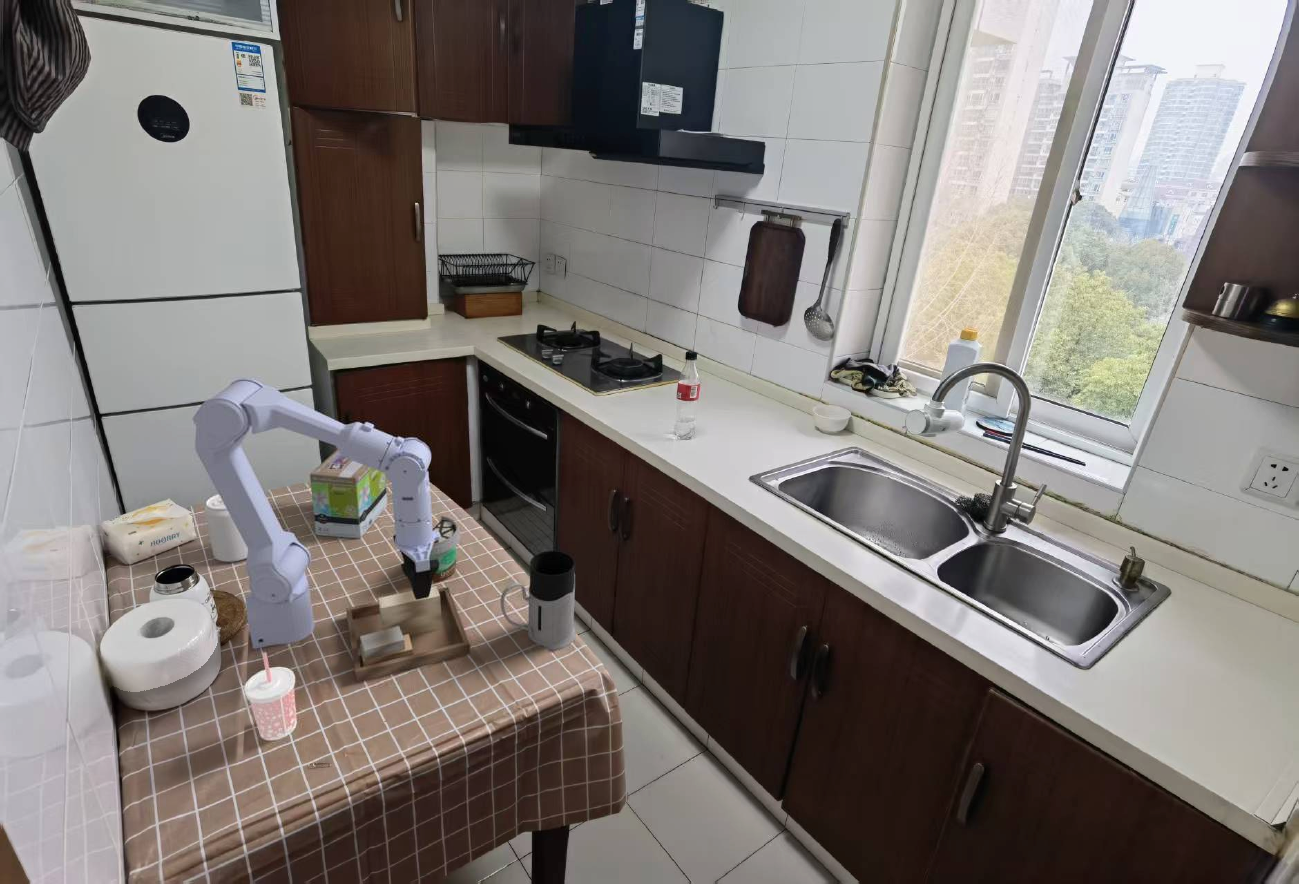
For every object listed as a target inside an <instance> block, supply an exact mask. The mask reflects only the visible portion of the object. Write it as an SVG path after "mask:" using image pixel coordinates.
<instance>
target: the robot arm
mask: <svg viewBox="0 0 1299 884" xmlns="http://www.w3.org/2000/svg"><path fill="white" fill-rule="evenodd" d="M192 421H193V423H194V425H195V429H196V430H195V439H194V441H195V442H194V450H195V452H196V454H197V457H198V458H199V460H200V462H201V463H202V465H203V467H204V469H205V471H206V473H207V474H208V477H209V479H210V481H211V482H212V484H213V486H214V488H215V490H216V492H217V493H218V494H219V495H220V497H221V499H222V501H223V503H224V505H225V507H226V508H227V510H228V512H229V514H230V516H231V518H232V520H233V521H234V523H235V525H236V527H237V529H238V531H239V533H240V535H241V536H242V538H243V540H244V542H245V544H246V546H247V548H248V554H247V558H246V561H245V571H246V573H247V575H248V577H249V583H248V587H249V590H250V591H249V592H251V593H248V594H246V596H245V606H246V607H245V609H246V610H245V611H246V617H247V624H248V632H249V636H250V638H251V645H252V649H255V650H256V649H261V648H265V647H269V646H270V647H271V646H275V645H286V644H294V643H297V642H299V641H301V640H303V639H305V638H307V637H308V636H309V635H310V634H312V632H313V631H314V629H315V620H314V612H313V607H312V601H311V600H312V599H311V592H310V585H309V580H308V578H307V574H306V570H307V569H308V568H309V566H310V565H311V562H312V556H311V555H312V554H311V552H310V551H309V549H308V548H306V546H305V545H303V543H300V541H299V540H298V539H297V537H296V536H295V534H294V533H293V532H290V531H285V530H283V528H282V525H281V524H280V521H279V519H278V518H277V515H276V514H275V512H274V510H273V508H272V506H271V504H270V502H269V500H268V498H267V496H266V494H265V492H264V491H263V488H262V486H261V483H260V482H259V480H258V478H257V476H256V474H255V472H254V470H253V468H252V466H251V464H250V463H249V460H248V458H247V456H246V454H245V452H244V450H243V448H242V444H243V442H244V440H245V439H246V436H247V435H248V433H249V432H250V431H251V434H252V435H256V434H259V433H263V432H266V431H270V430H271V431H272V430H274V429H277V428H280V429H281V428H282V429H285V430H287V431H291V432H294V433H297V434H300V435H303V436H305V437H309V438H311V439H315V440H318V441H320V442H324V443H327V444H330V445H333V446H335V447H336V450H338V451H339V453H340V455H341V456H342V457H345V458H347V459H350V460H352V461H355V462H357V463H360V464H363V465H365V466H368V467H370V468H373V469H375V470H379V471H380V472H383V473H385V478H387V480H388V481H389V482H390V483H391V488H392V490H391V494H392V495H391V496H392V505H393V517H394V530H395V531H394V532H395V534H394V535H393V536H392V539H393V543H394V545H395V547H396V548H397V549H399V551H400V553H401V555H402V558H403V563H401V564H400V566H401V567H400V568H401V569H402V572H403V574H404V576H406V578H407V579H408V581H409V583H410V585H411V591H413V593H414V596H415V598H416V600H418V599H423V598H427V597H429V594H430V590H431V587H432V584H433V583H432V581H433V578H434V575H435V573H436V572H437V570H438V569H439V561H438V559H435V560H430V561H429V556H430V553H431V549H432V546H433V543H434V541H436V540H440V539H441V536H440V533H439V531H433V529H432V528H433V515H432V514H433V513H432V497H431V487H430V486H431V485H430V477H429V471H428V469H429V466H430V464H431V461H432V452H431V450H430V447H429V446H428V445H427V444H426V443H425V442H423V441H422V440H420V439H418V437H405V438H404V437H401V436H397V437H396V436H393V435H391V434H388V433H386V432H384V431H382V430H379V429H376V428H375V425H374V424H373V423H370V422H368V421H366V422H364V423H361V422H360V421H355V422H352V423H349V424H344V423H342V422H340V421H338V420H336V419H334V418H331V417H330V416H327V415H325V414H323V413H321V412H318V411H317V410H314V409H313V408H310V407H308V406H306V405H304V404H302V403H300V402H298V401H296V400H293V399H291V398H289V397H287V396H286V395H284V394H283V393H282V392H280V391H279V390H278V389H277V388H275V386H272V385H267V384H263V383H261V382H260V381H258V380H256V379H253V378H239V379H236V380H234V381H233V382H231V383H230V384H229V385H228V386H227V387H226V388H225V389H223V390H221V391H220V392H218V393H217V394H215V396H213V397H211V398H209V399H207V400H205V401H204V402H203V403H202V404H201V405H200V407H199V408H198V409H197V411H196V412H195V414H194V416H193V417H192Z"/></svg>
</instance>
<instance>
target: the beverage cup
mask: <svg viewBox="0 0 1299 884" xmlns="http://www.w3.org/2000/svg"><path fill="white" fill-rule="evenodd" d="M262 658H263V664H264V670H260V671H258V672H256V673H255V674H254V675H252V676H251V677H250V678H249V679H248V680H247V681H246V682H245V684H244V688H243V691H244V693H245V696H246V699H247V700H248V701H249V702H250V707H251V709H252V713H253V716H254V719H255V722H256V726H257V730H258V732H259V735H260V737H261V738H262V739H263V740H266V741H276V740H281V739H284V738H286V737H288V735H290V734H291V733H292V732H293V731H294V730H295V729H296V727H297V723H298V722H297V721H298V720H297V708H296V695H295V684H296V676H295V675H296V674H295V673H294V671H293V670H292V669H290V668H288V667H283V666H276V667H275V666H274V667H270V665H269V660H268V655H267V652H265V651H264V652H262Z"/></svg>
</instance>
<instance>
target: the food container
mask: <svg viewBox="0 0 1299 884" xmlns="http://www.w3.org/2000/svg"><path fill="white" fill-rule="evenodd" d="M432 529H433V531H439V533H440V536H441V539H440V540H436V541H434V543H433V546H432V549H431V553H430V556H429V561H430V560H435V559H438V561H439V569H438V570H437V572H436V573H435V575H434V578H433V581H432V584H437V583H441V582H443V581H446V580H448V579H450V578H451V577H452V576H453V575H454V574H455V573H456V569H457V566H456V565H457V551H458V550H457V549H458V543H459V542H460V540H461V531H460V529H459V526H458V525H457V523H456V522H455V521H454V520H453V519H452V518H450V517H448V516H445V515H444V516H443V515H440V521H438V523H437V524H436V525H435V526H433V527H432Z"/></svg>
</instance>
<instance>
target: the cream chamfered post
mask: <svg viewBox="0 0 1299 884" xmlns="http://www.w3.org/2000/svg"><path fill="white" fill-rule="evenodd" d="M438 589H439V588H438V586H437V585H435V586H431V590H430V594H429V597H427V598H423V599H418V600H416V598H415V596H414V593H413V590H411V591H406V592H400V593H395V594H391V595H387V596H382V597H381V596H380V597H378V602H379V609H380V619H381V629H382V630H386V629H389V628H393V627H397V626H399V627H400V630H401V632H402V635H406V634H409V637H410V636H414V635H418V634H423V633H427V632H431V631H435V630H440V629H442V620H441V602H440V594H439V591H438Z"/></svg>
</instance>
